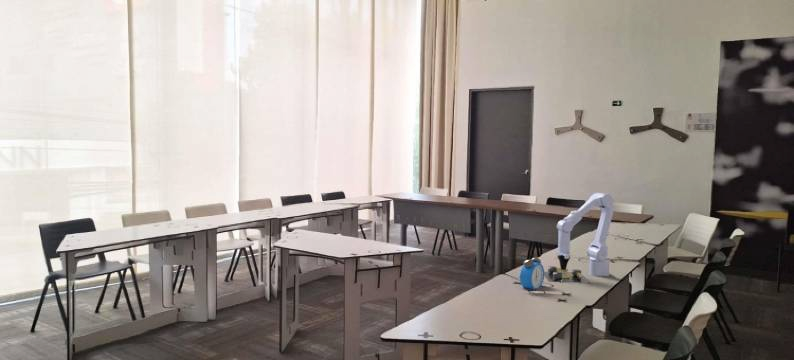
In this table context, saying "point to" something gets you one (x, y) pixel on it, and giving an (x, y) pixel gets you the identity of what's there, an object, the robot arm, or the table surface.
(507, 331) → the table surface
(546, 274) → the dark grey square plate
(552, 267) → the knob
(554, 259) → the table surface
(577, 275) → the knob
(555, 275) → the knob
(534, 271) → the alarm clock
